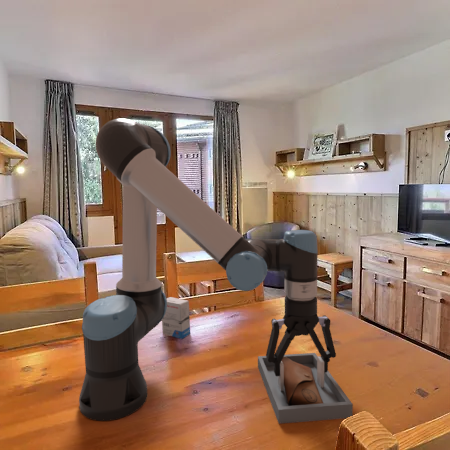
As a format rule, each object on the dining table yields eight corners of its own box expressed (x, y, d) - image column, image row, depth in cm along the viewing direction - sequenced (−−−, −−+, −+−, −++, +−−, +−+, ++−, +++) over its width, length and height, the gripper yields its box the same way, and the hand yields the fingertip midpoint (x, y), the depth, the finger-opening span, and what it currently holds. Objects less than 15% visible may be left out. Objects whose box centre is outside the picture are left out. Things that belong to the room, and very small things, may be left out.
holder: (278, 423, 74) (278, 409, 74) (257, 367, 97) (257, 356, 97) (352, 417, 76) (352, 404, 75) (314, 363, 98) (315, 352, 98)
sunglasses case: (328, 409, 77) (312, 384, 76) (299, 424, 77) (284, 399, 77) (310, 366, 95) (298, 346, 94) (287, 379, 95) (275, 359, 95)
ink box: (191, 334, 119) (190, 300, 117) (181, 339, 115) (180, 304, 113) (171, 328, 123) (170, 296, 122) (161, 334, 119) (160, 300, 118)
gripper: (257, 304, 79) (259, 398, 82) (352, 298, 81) (351, 391, 84) (252, 293, 86) (253, 380, 89) (339, 288, 88) (338, 374, 91)
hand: (300, 385), depth 86 cm, fingers open, 9 cm apart
